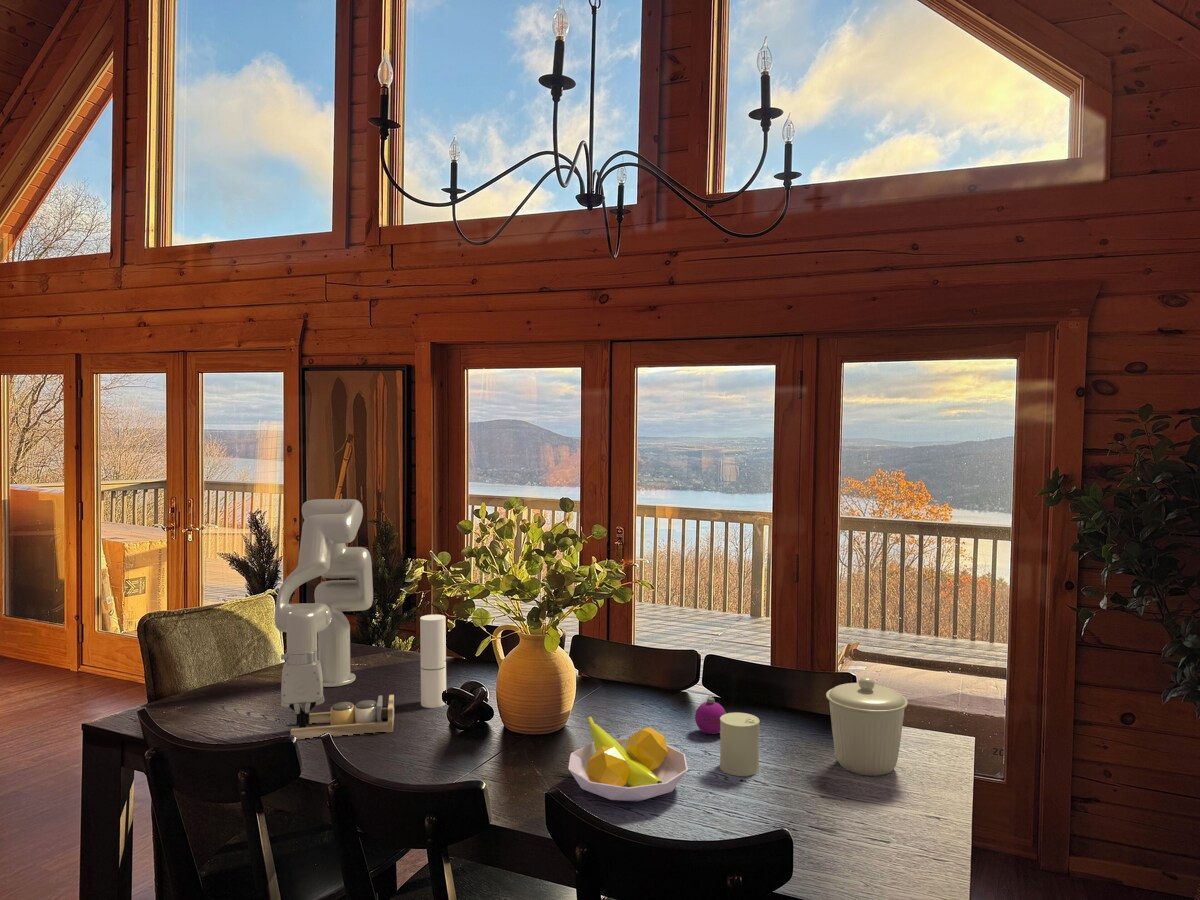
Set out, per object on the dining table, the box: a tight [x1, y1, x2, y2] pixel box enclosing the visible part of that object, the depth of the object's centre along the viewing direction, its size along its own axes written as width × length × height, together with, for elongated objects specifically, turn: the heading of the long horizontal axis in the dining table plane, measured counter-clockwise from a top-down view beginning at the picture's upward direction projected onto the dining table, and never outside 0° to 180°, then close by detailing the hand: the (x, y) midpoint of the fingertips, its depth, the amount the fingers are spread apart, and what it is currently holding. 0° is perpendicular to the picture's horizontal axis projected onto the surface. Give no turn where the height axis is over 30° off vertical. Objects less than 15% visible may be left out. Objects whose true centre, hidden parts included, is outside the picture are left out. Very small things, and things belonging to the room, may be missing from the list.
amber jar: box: [330, 701, 355, 726], centre depth 217 cm, size 6×6×6 cm
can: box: [719, 712, 761, 777], centre depth 191 cm, size 9×9×12 cm
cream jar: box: [354, 699, 378, 724], centre depth 218 cm, size 6×6×6 cm
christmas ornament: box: [694, 694, 727, 735], centre depth 213 cm, size 8×8×10 cm
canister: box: [825, 676, 909, 777], centre depth 191 cm, size 18×18×21 cm
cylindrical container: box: [419, 614, 447, 709], centre depth 235 cm, size 7×7×25 cm
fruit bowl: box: [568, 716, 689, 802], centre depth 182 cm, size 28×27×11 cm
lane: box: [290, 694, 395, 740], centre depth 217 cm, size 12×25×6 cm, turn 102°
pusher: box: [376, 695, 384, 722], centre depth 219 cm, size 9×1×6 cm, turn 12°
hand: (303, 726), depth 215 cm, fingers closed
